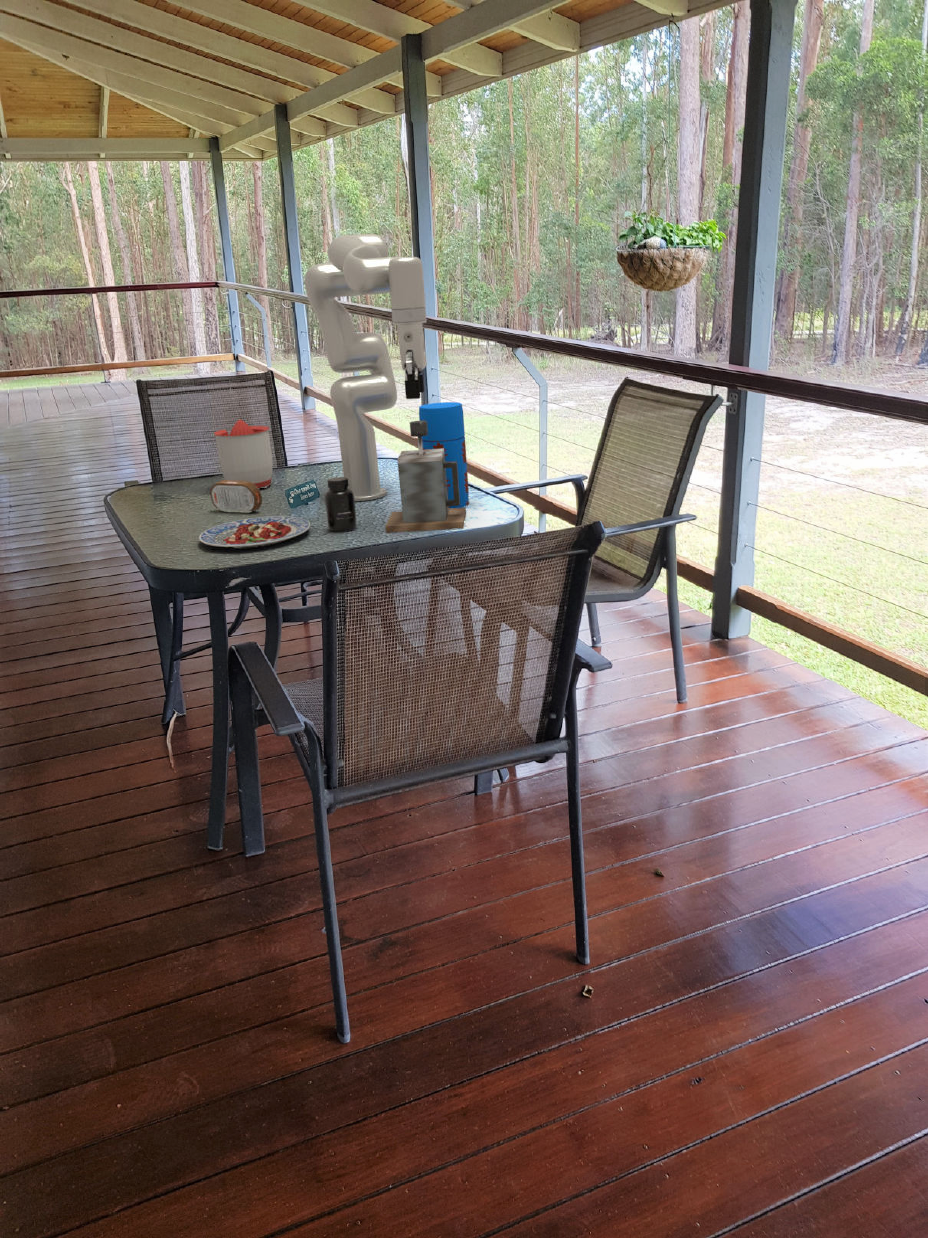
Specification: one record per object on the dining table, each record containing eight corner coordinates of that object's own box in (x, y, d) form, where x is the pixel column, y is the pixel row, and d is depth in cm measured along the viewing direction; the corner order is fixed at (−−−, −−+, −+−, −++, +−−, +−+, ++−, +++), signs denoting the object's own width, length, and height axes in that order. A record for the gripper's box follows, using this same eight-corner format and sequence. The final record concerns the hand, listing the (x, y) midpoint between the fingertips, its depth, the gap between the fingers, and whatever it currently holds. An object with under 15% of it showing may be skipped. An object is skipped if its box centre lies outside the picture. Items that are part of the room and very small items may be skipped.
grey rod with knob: (416, 511, 226) (408, 423, 219) (418, 507, 229) (410, 421, 222) (433, 510, 225) (426, 422, 218) (434, 506, 229) (427, 419, 222)
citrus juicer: (264, 479, 294) (254, 412, 287) (284, 487, 280) (275, 418, 273) (214, 487, 286) (203, 420, 280) (232, 497, 272) (221, 425, 265)
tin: (264, 512, 252) (260, 480, 249) (257, 515, 249) (252, 483, 246) (218, 510, 258) (213, 478, 255) (211, 512, 255) (206, 481, 253)
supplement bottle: (345, 533, 224) (339, 482, 220) (322, 531, 228) (316, 481, 224) (363, 526, 230) (357, 476, 226) (340, 524, 233) (335, 475, 229)
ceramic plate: (222, 527, 240) (220, 515, 239) (322, 522, 237) (321, 510, 236) (183, 556, 216) (181, 544, 215) (295, 552, 213) (293, 539, 212)
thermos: (464, 509, 238) (457, 407, 230) (422, 510, 240) (413, 409, 232) (472, 499, 248) (466, 401, 240) (432, 500, 250) (424, 403, 242)
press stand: (385, 532, 223) (378, 461, 217) (392, 517, 236) (386, 450, 230) (463, 528, 221) (458, 456, 216) (466, 513, 234) (461, 445, 229)
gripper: (422, 318, 204) (428, 400, 210) (429, 313, 220) (434, 389, 227) (387, 320, 205) (394, 402, 211) (396, 315, 221) (402, 391, 227)
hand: (415, 395), depth 219 cm, fingers open, 9 cm apart
